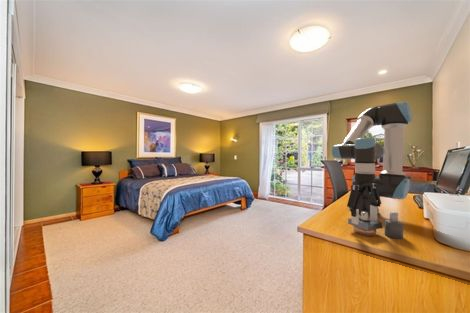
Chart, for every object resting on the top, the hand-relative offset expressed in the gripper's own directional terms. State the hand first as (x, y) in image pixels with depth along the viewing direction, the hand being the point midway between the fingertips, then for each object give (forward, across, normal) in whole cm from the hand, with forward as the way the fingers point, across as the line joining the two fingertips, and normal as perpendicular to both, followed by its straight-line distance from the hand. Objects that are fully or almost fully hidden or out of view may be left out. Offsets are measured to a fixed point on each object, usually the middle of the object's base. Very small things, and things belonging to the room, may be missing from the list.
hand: (364, 222), depth 85 cm
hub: (+5, 0, 0) cm, 5 cm away
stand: (+5, -8, +7) cm, 12 cm away
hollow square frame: (+2, 0, 0) cm, 2 cm away
